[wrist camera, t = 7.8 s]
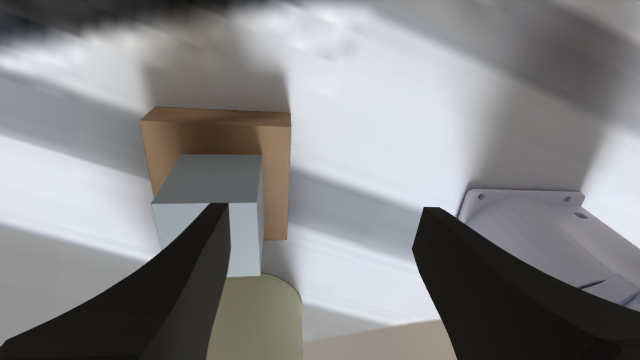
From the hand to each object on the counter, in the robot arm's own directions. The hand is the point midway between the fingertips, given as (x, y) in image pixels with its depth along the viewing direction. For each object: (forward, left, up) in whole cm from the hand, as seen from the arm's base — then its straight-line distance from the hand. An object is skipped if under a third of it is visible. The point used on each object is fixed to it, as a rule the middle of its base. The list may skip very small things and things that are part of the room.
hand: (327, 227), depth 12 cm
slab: (+5, +3, -11) cm, 12 cm away
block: (+5, +3, -8) cm, 10 cm away
